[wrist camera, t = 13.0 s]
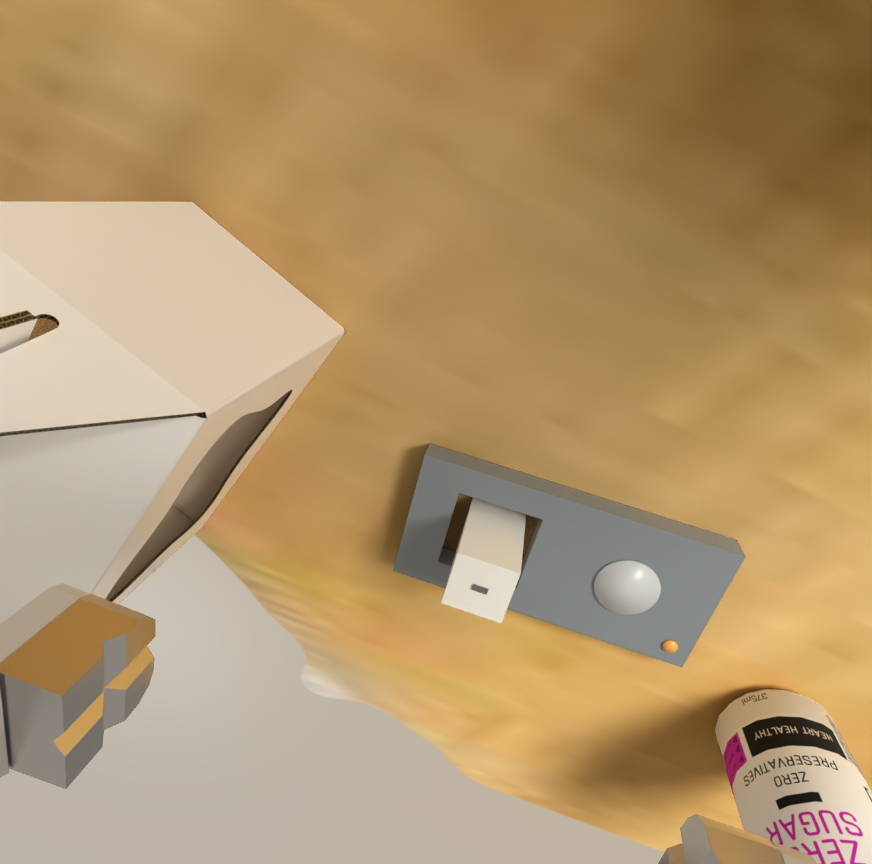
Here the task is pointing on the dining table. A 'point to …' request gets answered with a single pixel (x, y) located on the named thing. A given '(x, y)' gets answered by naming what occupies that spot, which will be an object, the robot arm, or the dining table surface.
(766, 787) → the supplement can
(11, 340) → the gable box
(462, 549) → the block
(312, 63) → the dining table surface
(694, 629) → the power board
